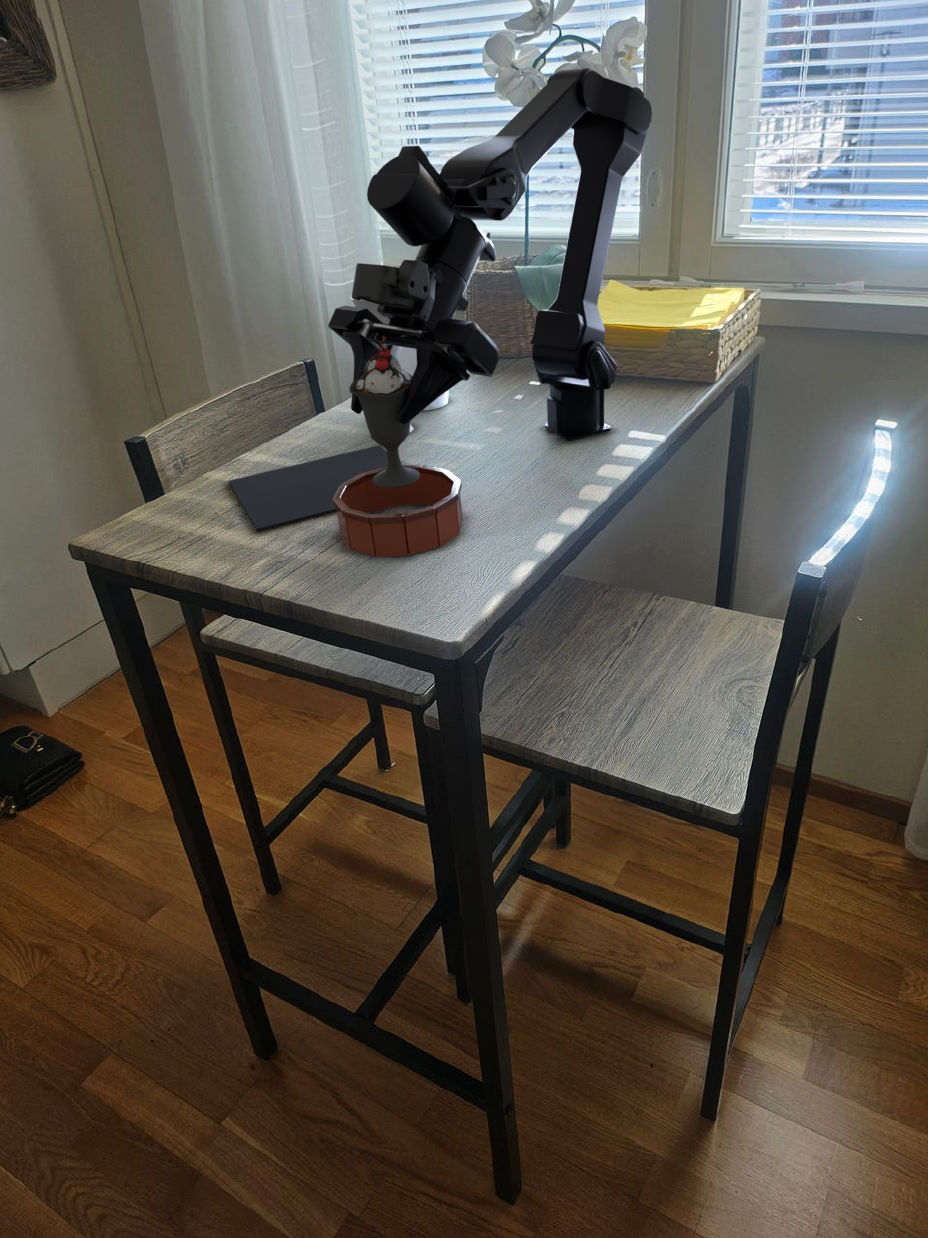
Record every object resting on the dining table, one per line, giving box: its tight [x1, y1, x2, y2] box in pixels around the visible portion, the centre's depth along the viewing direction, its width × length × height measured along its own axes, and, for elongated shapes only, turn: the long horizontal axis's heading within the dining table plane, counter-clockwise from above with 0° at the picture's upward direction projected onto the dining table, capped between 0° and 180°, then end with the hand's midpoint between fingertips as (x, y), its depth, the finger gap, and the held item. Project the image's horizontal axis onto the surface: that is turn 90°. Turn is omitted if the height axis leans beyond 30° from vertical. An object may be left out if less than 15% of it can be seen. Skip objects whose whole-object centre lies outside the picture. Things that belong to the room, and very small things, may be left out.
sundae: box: [348, 336, 420, 488], centre depth 87 cm, size 7×7×15 cm
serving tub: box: [333, 464, 464, 558], centre depth 93 cm, size 13×13×4 cm
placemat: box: [228, 444, 388, 533], centre depth 106 cm, size 20×16×1 cm
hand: (377, 416), depth 87 cm, fingers closed on sundae, 6 cm apart
